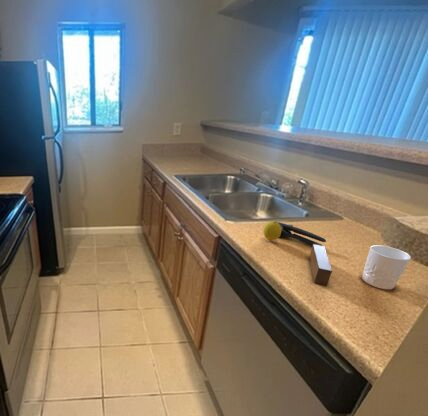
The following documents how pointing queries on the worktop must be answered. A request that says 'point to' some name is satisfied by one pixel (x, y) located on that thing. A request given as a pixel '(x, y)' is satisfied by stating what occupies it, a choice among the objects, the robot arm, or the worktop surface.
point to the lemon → (272, 231)
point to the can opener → (287, 233)
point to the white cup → (384, 266)
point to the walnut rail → (320, 265)
